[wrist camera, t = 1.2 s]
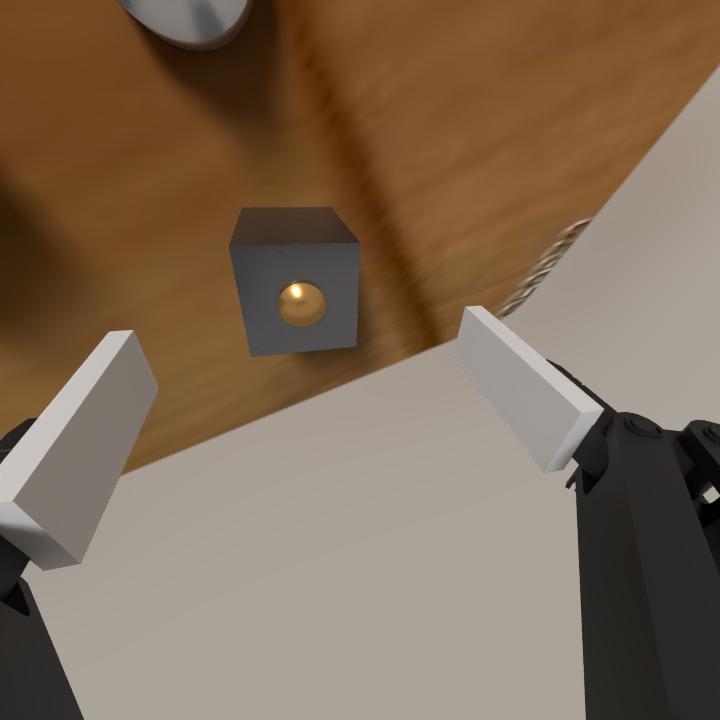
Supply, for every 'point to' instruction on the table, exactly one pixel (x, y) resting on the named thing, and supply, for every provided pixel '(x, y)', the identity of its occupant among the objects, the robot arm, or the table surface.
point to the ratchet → (192, 20)
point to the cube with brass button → (296, 279)
